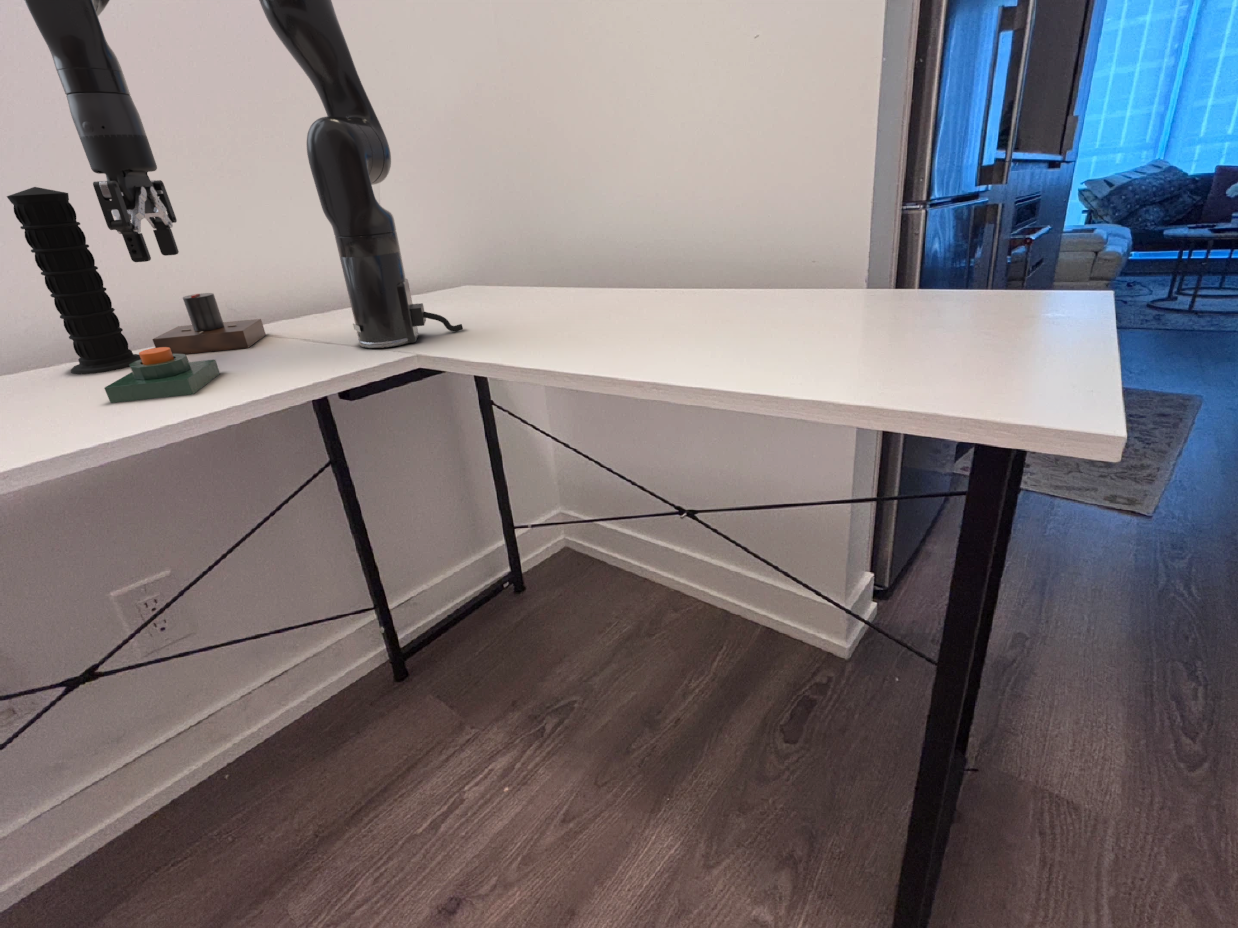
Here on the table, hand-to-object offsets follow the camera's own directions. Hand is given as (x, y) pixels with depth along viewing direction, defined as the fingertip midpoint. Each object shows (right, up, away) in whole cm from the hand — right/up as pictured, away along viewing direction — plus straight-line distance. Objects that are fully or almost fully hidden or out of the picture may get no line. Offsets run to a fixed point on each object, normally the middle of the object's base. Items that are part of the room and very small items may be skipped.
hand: (157, 258), depth 92 cm
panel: (-3, -9, +18) cm, 21 cm away
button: (+5, -16, -6) cm, 18 cm away
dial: (-3, -7, +17) cm, 18 cm away
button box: (+5, -20, -5) cm, 21 cm away
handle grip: (-14, -15, +9) cm, 22 cm away
